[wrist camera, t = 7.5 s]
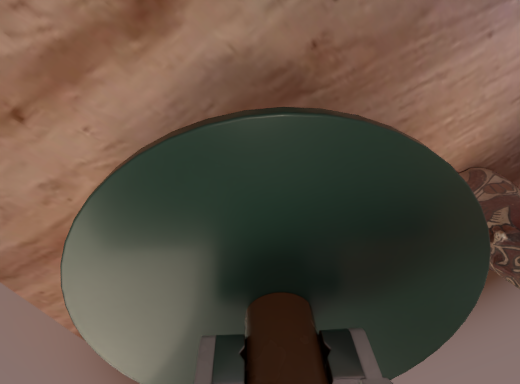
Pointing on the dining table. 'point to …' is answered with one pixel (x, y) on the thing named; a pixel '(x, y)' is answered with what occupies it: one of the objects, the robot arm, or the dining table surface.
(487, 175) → the figurine
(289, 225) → the lid
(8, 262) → the dining table surface
